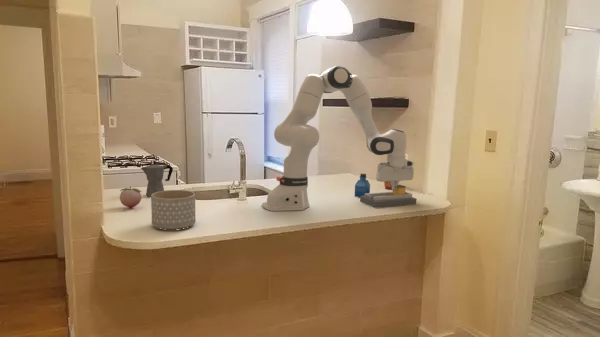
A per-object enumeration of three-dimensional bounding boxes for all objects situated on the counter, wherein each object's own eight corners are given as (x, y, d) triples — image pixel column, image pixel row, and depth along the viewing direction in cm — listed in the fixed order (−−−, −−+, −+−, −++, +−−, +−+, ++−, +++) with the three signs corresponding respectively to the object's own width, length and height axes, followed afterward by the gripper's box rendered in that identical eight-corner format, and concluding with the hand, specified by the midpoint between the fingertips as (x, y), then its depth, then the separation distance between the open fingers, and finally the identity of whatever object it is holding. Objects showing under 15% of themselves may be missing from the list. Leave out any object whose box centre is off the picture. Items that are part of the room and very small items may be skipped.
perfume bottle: (354, 196, 236) (355, 174, 234) (358, 194, 241) (359, 172, 239) (365, 198, 233) (366, 175, 231) (369, 195, 238) (370, 173, 236)
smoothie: (379, 187, 261) (381, 154, 258) (391, 186, 265) (393, 153, 262) (388, 190, 254) (390, 155, 251) (400, 189, 258) (402, 155, 255)
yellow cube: (398, 197, 221) (398, 186, 220) (392, 195, 226) (392, 185, 225) (405, 196, 223) (406, 186, 222) (399, 194, 227) (399, 184, 227)
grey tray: (375, 208, 211) (375, 198, 210) (359, 201, 224) (360, 192, 223) (416, 204, 221) (416, 195, 220) (399, 198, 233) (399, 189, 233)
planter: (160, 234, 163) (159, 200, 161) (146, 223, 176) (145, 192, 174) (202, 228, 172) (202, 195, 170) (186, 218, 185) (185, 188, 183)
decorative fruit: (117, 210, 194) (117, 188, 193) (121, 206, 202) (120, 184, 201) (140, 210, 196) (139, 188, 194) (143, 206, 204) (142, 184, 202)
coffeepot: (143, 198, 218) (141, 162, 215) (140, 195, 226) (139, 160, 223) (175, 196, 225) (174, 161, 222) (171, 192, 233) (170, 158, 230)
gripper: (381, 163, 213) (380, 191, 216) (416, 162, 222) (414, 189, 224) (374, 161, 219) (372, 189, 221) (408, 160, 227) (406, 187, 229)
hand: (394, 189), depth 223 cm, fingers closed, pressing on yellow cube
